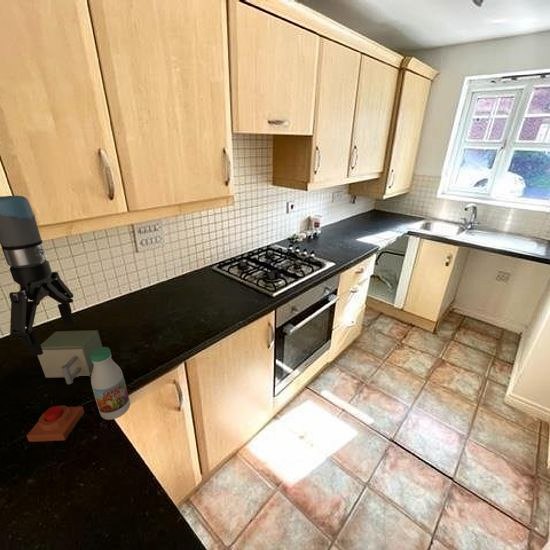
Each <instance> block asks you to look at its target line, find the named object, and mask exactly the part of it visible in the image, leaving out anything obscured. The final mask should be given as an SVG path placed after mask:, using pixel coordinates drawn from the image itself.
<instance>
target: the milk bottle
mask: <svg viewBox="0 0 550 550" xmlns="http://www.w3.org/2000/svg"><path fill="white" fill-rule="evenodd" d="M90 357H91V360H92V363H93V364H94V366H93V371H92V375H91V376H90V383H91V388H92V392H93V395H94V399H95V402H96V406H97V409H98V413H99V415H100V417H101V418H102V419H104V420H109V421H111V420H116V419H119V418H121V417H122V416H123V415H125V414H126V413H127V412H128V410H129V409H130V407H131V401H130V396H129V393H128V389H127V384H126V380H125V377H124V374H123V371H122V369H121V367H120V366H119V365H118V364H117V363H116V362H115V361H114V360H113V358H112V352H111V349H110V348H109V347H108V346H102V347H100V348H97V349H95V350H93V351H92V352H91V354H90Z"/></svg>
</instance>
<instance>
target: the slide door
mask: <svg viewBox="0 0 550 550" xmlns="http://www.w3.org/2000/svg"><path fill="white" fill-rule="evenodd" d="M42 351H43V354H42V355H37V358H38V361H39V364H40V366H41V369H42V371H43V374H44V377H45V379H51V378H50V377H59V378H64V380H65V383H66V384H67V385H71V384H73V383H74V380H75V378H80V377H79V376H89V377H91V376H90V375H91V373H90V369H89V366H88V363H87V359H86V356H85V353H84V349H83V348H62V349H42Z"/></svg>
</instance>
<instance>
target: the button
mask: <svg viewBox="0 0 550 550" xmlns="http://www.w3.org/2000/svg"><path fill="white" fill-rule="evenodd" d="M59 406H60V405H55V406H51V407H49V408H48V409H46V411H44V412H43V413H44V416H45V419H46V421H48V422H52V421H54V420H57V419H58V418H59V417H61V416H62V410H61V407H59Z"/></svg>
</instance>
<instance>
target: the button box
mask: <svg viewBox="0 0 550 550" xmlns="http://www.w3.org/2000/svg"><path fill="white" fill-rule="evenodd" d="M58 406H59V407H61V410H62V416H61V417H59V418H58V419H57V420H54V421H52V422H48V421H46V419H45V416H44V413H45V412H43V413H42V414H41V416H40V417H38V421H37V422H36V423H35V425H34V426H33V427H32V428H31V429H30V431H28V433H27V434H26V438H27V441H28V442H29V443H31V442H33V443H34V442H35V443H36V442H55V441H56V442H57V441H66V440H67V438H68V437H69V436H70V434H71V432H72V431H73V430H74V428H75V427H76V425H77V424H78V423H79V421H80V420H81V419H82V417H83V415H84V414H85V410H84V407H83V406H66V405H58Z"/></svg>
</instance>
